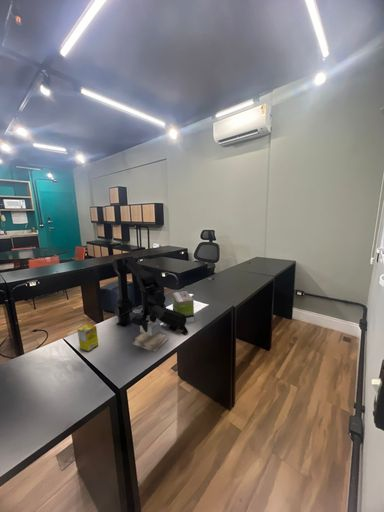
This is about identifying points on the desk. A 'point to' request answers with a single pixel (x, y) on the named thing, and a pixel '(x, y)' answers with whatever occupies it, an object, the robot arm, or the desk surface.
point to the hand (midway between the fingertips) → (149, 329)
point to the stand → (150, 341)
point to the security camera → (174, 320)
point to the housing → (151, 328)
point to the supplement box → (88, 337)
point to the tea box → (184, 305)
